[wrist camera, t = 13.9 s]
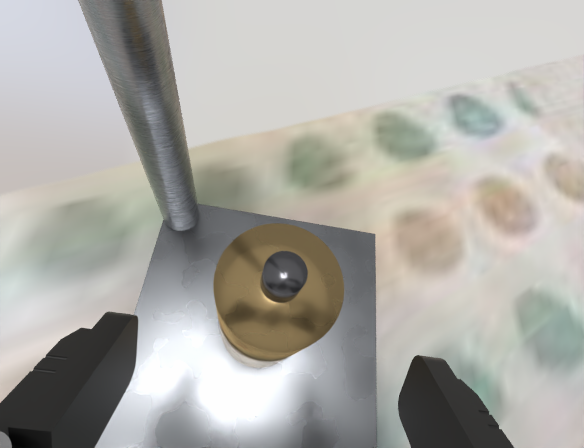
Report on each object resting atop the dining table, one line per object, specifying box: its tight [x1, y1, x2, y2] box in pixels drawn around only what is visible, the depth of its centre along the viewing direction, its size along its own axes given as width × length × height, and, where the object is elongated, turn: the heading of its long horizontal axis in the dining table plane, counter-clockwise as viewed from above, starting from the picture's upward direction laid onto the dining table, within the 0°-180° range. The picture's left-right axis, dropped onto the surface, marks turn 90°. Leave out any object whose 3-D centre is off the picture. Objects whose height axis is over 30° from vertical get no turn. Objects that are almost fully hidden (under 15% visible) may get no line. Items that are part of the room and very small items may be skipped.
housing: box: [213, 223, 344, 368], centre depth 15 cm, size 4×4×10 cm
